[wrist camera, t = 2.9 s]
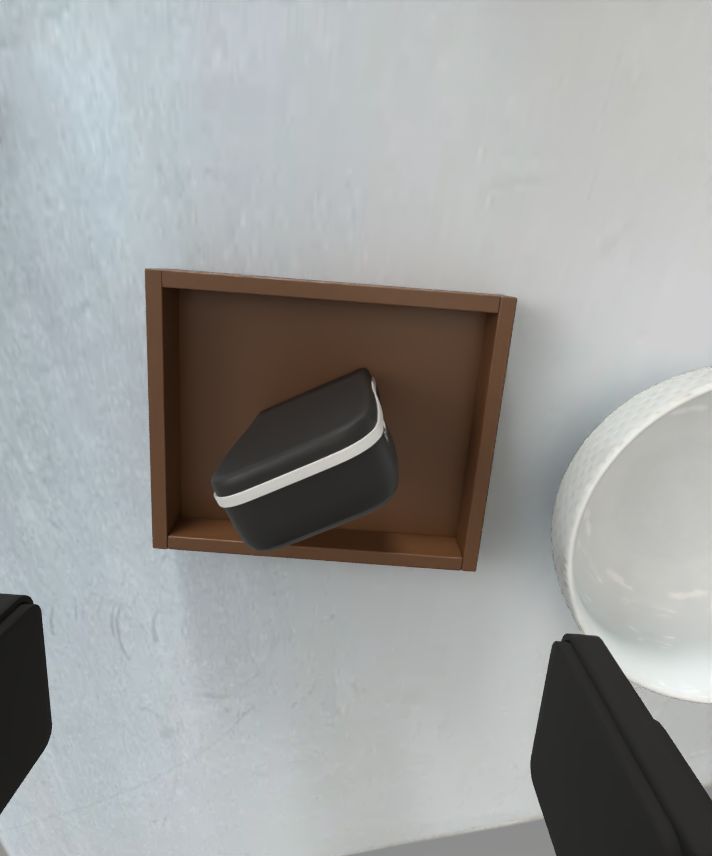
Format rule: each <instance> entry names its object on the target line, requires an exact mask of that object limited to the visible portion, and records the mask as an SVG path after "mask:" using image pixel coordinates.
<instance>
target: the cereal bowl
mask: <svg viewBox="0 0 712 856" xmlns="http://www.w3.org/2000/svg"><path fill="white" fill-rule="evenodd" d="M551 533H552V537H551V542H552V552H553V559H554V565H555V570H556V573H557V577H558V581H559V584H560V587H561V590H562V594H563V596H564V598H565V600H566V603H567V606H568V608H569V609H570V611H571V613H572V615H573V618H574V620H575V621H576V623H577V625H578V627H579V629H580V631H581V632H582V634H583V635H595V636H599V637H600V638H601V639H602V640H603V642H604V643H605V645H606V646H607V648H608V649H609V651H610V653H611V654H612V656H613V657H614V659H615V660H616V662H617V663H618V665H619V666H620V668H621V670H622V671H623V673H624V674H625V676H626V677H627V679H628V680H629V681H631V682H633V683H635V684H637V685H639V686H641V687H643V688H645V689H648V690H650V691H652V692H655V693H658V694H661V695H664V696H667V697H671V698H674V699H678V700H683V701H689V702H695V703H704V704H712V367H705V368H702V369H700V370H696V371H691V372H688V373H684V374H682V375H679V376H676V377H674V378H670V379H668V380H666V381H664V382H662V383H659V384H656V385H655V386H653V387H650V388H648V389H646V390H645V391H644V392H642V393H638V394H637V395H636V396H635V397H634V398H631V399H629V400H628V401H627V402H626V403H625V404H622V405H620V406H619V408H618V409H616V410H615V411H614V412H613V413H612V414H611V415H610V416H608V417H606V418H605V420H604V421H603V422H602V423H601V424H599V425H598V427H597V428H596V429H595V430H594V431H593V432H591V434H590V436H589V437H588V438H587V439H585V441H584V443H583V445H582V446H581V447H580V448H579V450H578V452H577V454H576V455H575V456H574V458H573V460H572V461H571V463H570V464H569V466H568V469H567V471H566V472H565V474H564V478H563V480H562V481H561V484H560V488H559V490H558V492H557V498H556V500H555V507H554V510H553V518H552V527H551Z"/></svg>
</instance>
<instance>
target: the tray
mask: <svg viewBox="0 0 712 856" xmlns="http://www.w3.org/2000/svg"><path fill="white" fill-rule="evenodd" d="M145 290H146V325H147V360H148V396H149V431H150V466H151V502H152V537H153V548H158V549H167V548H168V549H176V550H190V551H203V552H217V553H230V554H244V555H257V556H271V557H284V558H298V559H311V560H325V561H338V562H352V563H366V564H379V565H393V566H406V567H420V568H433V569H447V570H461V569H462V570H463V571H476V567H477V560H478V554H479V547H480V541H481V534H482V527H483V521H484V514H485V508H486V501H487V494H488V488H489V481H490V475H491V468H492V461H493V455H494V448H495V442H496V435H497V429H498V422H499V415H500V409H501V402H502V396H503V389H504V382H505V376H506V369H507V363H508V356H509V349H510V343H511V336H512V330H513V323H514V316H515V310H516V303H517V298H515V297H510V296H505V295H495V294H483V293H470V292H457V291H444V290H432V289H419V288H406V287H393V286H380V285H368V284H355V283H342V282H329V281H317V280H304V279H291V278H278V277H265V276H253V275H240V274H227V273H214V272H202V271H189V270H176V269H145ZM359 368H366V369H368V371H369V372H370V374H371V376H373V377H374V379H375V381H376V388H377V390H378V392H379V395H380V400H381V404H382V413H383V416H384V419H385V422H386V424H387V427H388V429H389V431H390V433H391V436H392V438H393V442H394V445H395V448H396V452H397V458H398V469H399V479H398V486H397V489H396V491H395V493H394V495H393V497H392V498H391V500H390V501H388V502H387V503H386V504H385V505H383V506H382V507H381V508H379V509H377V510H375V511H373V512H371V513H369V514H366V515H364V516H361V517H359V518H357V519H354V520H352V521H349V522H347V523H344V524H342V525H339V526H337V527H335V528H332V529H330V530H327V531H325V532H322V533H320V534H317V535H314V536H312V537H309V538H307V539H304V540H302V541H299V542H296V543H294V544H291V545H289V546H286V547H283V548H280V549H277V550H274V551H269V552H261V551H256V550H252V549H251V548H249V547H248V546H247V545H246V544H245V543H244V542H243V540H242V539H241V537H240V536H239V535H238V533H237V531H236V529H235V528H234V526H233V524H232V522H231V520H230V518H229V517H228V515H227V513H226V511H225V509H224V508H223V507H221V506H219V504H218V503H217V501H216V499H215V497H214V492H215V491H214V489H213V487H212V485H211V478H212V476H213V474H214V472H215V470H216V469H217V468H218V466H219V465H220V463H221V462H222V460H223V459H224V457H225V456H226V455H227V453H228V452H229V451H230V449H231V448H232V447H233V446H234V444H235V443H236V442H237V441H238V440H239V438H240V437H241V436H242V435H243V434H244V432H245V431H246V430H247V429H248V428H249V427H250V425H251V424H252V423H253V421H254V420H255V418H256V417H257V415H258V414H259V412H261V411H263V410H265V409H267V408H270V407H272V406H274V405H276V404H279V403H281V402H283V401H285V400H288V399H290V398H292V397H295V396H297V395H299V394H301V393H304V392H306V391H308V390H311V389H313V388H315V387H318V386H320V385H322V384H324V383H327V382H329V381H331V380H334V379H336V378H338V377H341V376H343V375H345V374H348V373H350V372H352V371H355V370H357V369H359Z"/></svg>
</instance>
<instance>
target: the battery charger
mask: <svg viewBox="0 0 712 856" xmlns="http://www.w3.org/2000/svg"><path fill="white" fill-rule="evenodd" d="M398 479H399V469H398V458H397V452H396V448H395V445H394V442H393V438H392V436H391V433H390V431H389V429H388V427H387V424H386V422H385V419H384V416H383V413H382V404H381V400H380V395H379V392H378V390H377V388H376V381H375V379H374V377H373V376H371V374H370V372H369V371H368V369H366V368H359V369H357V370H355V371H352V372H350V373H348V374H345V375H343V376H341V377H338V378H336V379H334V380H331V381H329V382H327V383H324V384H322V385H320V386H318V387H315V388H313V389H311V390H308V391H306V392H304V393H301V394H299V395H297V396H295V397H292V398H290V399H288V400H285V401H283V402H281V403H279V404H276V405H274V406H272V407H270V408H267V409H265V410H263V411H261V412H259V414H258V415H257V417H256V418H255V420H254V421H253V423H252V424H251V425H250V427H249V428H248V429H247V430H246V431H245V432H244V434H243V435H242V436H241V437H240V438H239V440H238V441H237V442H236V443H235V444H234V446H233V447H232V448H231V449H230V451H229V452H228V453H227V455H226V456H225V457H224V459H223V460H222V462H221V463H220V465H219V466H218V468H217V469H216V470H215V472H214V474H213V476H212V478H211V485H212V487H213V489H214V491H215V492H214V497H215V499H216V501H217V503H218V504H219V506H221V507H223V508H224V509H225V511H226V513H227V515H228V517H229V518H230V520H231V522H232V524H233V526H234V528H235V529H236V531H237V533H238V535H239V536H240V537H241V539H242V540H243V542H244V543H245V544H246V545H247V546H248V547H249V548H251V549H252V550H256V551H261V552H269V551H274V550H277V549H280V548H283V547H286V546H289V545H291V544H294V543H296V542H299V541H302V540H304V539H307V538H309V537H312V536H314V535H317V534H320V533H322V532H325V531H327V530H330V529H332V528H335V527H337V526H339V525H342V524H344V523H347V522H349V521H352V520H354V519H357V518H359V517H361V516H364V515H366V514H369V513H371V512H373V511H375V510H377V509H379V508H381V507H382V506H383V505H385V504H386V503H387V502H388V501H390V500H391V498H392V497H393V495H394V493H395V491H396V489H397V486H398Z"/></svg>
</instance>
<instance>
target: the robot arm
mask: <svg viewBox="0 0 712 856" xmlns="http://www.w3.org/2000/svg"><path fill="white" fill-rule="evenodd" d="M51 730H52V720H51V709H50V699H49V688H48V677H47V667H46V656H45V645H44V635H43V624H42V613H41V608H40V607H39V606H38V605H36V604H33V601H32V599H31V597H29V596H27V595H13V594H0V814H1V813H2V811H3V810H4V808H5V807H6V805H7V804H8V802H9V801H10V799H11V798H12V796H13V795H14V793H15V792H16V791H17V789H18V788H19V786H20V785H21V783H22V782H23V780H24V779H25V777H26V776H27V774H28V773H29V771H30V770H31V769H32V767H33V766H34V764H35V763H36V761H37V760H38V758H39V757H40V755H41V754H42V752H43V751H44V749H45V748H46V746H47V744H48V741H49V739H50V735H51ZM531 777H532V782H533V785H534V788H535V791H536V794H537V797H538V801H539V804H540V807H541V810H542V813H543V816H544V819H545V822H546V825H547V828H548V831H549V834H550V837H551V840H552V843H553V846H554V849H555V852H556V855H557V856H712V800H711V799H710V797H709V796H708V794H707V792H706V791H705V789H704V788H703V786H702V785H701V783H700V782H699V780H698V779H697V777H696V776H695V774H694V773H693V771H692V770H691V768H690V767H689V765H688V764H687V762H686V761H685V759H684V758H683V756H682V754H681V753H680V751H679V750H678V748H677V747H676V745H675V744H674V742H673V741H672V739H671V738H670V736H669V735H668V733H667V732H666V730H665V729H664V728H663V727H662V725H661V724H660V723H659V722H658V721H656V720H654V719H653V717H652V716H651V714H650V713H649V711H648V710H647V708H646V707H645V705H644V703H643V702H642V700H641V699H640V697H639V696H638V694H637V693H636V691H635V690H634V688H633V686H632V685H631V683H630V682H629V680H628V679H627V677H626V676H625V674H624V673H623V671H622V670H621V668H620V666H619V665H618V663H617V662H616V660H615V659H614V657H613V656H612V654H611V653H610V651H609V649H608V648H607V646H606V645H605V643H604V642H603V640H602V639H601V638H600V637H599V636H595V635H581V634H565V635H564V636H563V638H562V641H555V642H554V643H553V645H552V649H551V654H550V659H549V664H548V670H547V675H546V680H545V686H544V691H543V696H542V702H541V707H540V712H539V718H538V723H537V728H536V734H535V739H534V744H533V750H532V755H531Z"/></svg>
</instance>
